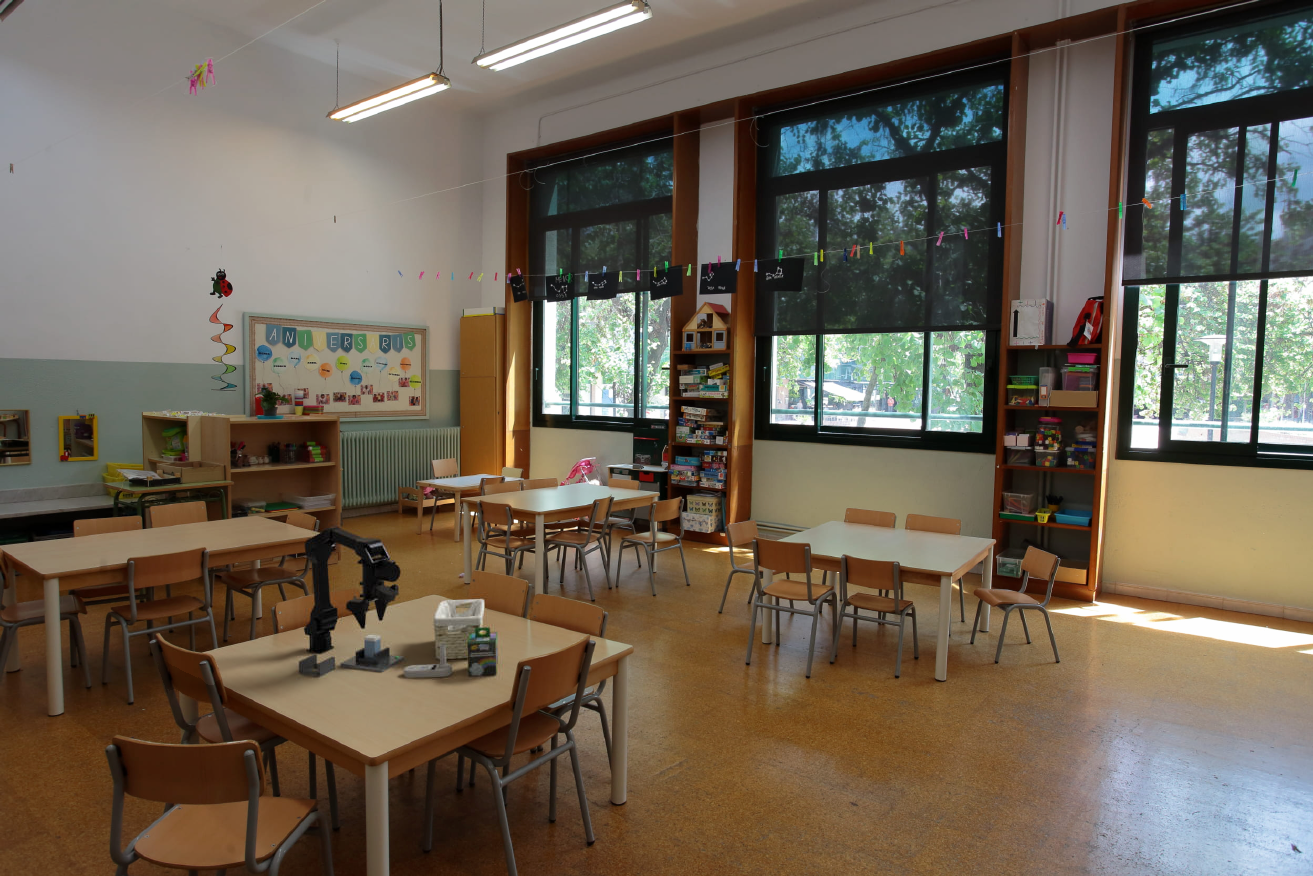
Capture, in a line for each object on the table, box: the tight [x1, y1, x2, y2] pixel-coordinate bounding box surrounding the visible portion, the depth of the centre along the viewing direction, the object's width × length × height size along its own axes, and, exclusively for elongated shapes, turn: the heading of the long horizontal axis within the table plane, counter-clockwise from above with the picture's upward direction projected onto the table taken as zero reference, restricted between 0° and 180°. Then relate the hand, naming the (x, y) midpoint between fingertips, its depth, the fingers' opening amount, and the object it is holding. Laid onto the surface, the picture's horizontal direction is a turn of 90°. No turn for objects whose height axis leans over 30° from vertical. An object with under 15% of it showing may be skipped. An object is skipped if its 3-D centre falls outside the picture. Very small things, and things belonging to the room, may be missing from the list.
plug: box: [363, 633, 382, 659], centre depth 256 cm, size 4×3×8 cm
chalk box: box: [467, 626, 499, 677], centre depth 250 cm, size 9×9×15 cm
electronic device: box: [403, 644, 453, 679], centre depth 247 cm, size 5×10×15 cm
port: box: [339, 646, 405, 673], centre depth 256 cm, size 16×12×4 cm
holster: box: [298, 653, 336, 678], centre depth 248 cm, size 8×7×4 cm
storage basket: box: [432, 598, 485, 660], centre depth 271 cm, size 24×16×15 cm
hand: (372, 624), depth 256 cm, fingers open, 9 cm apart
